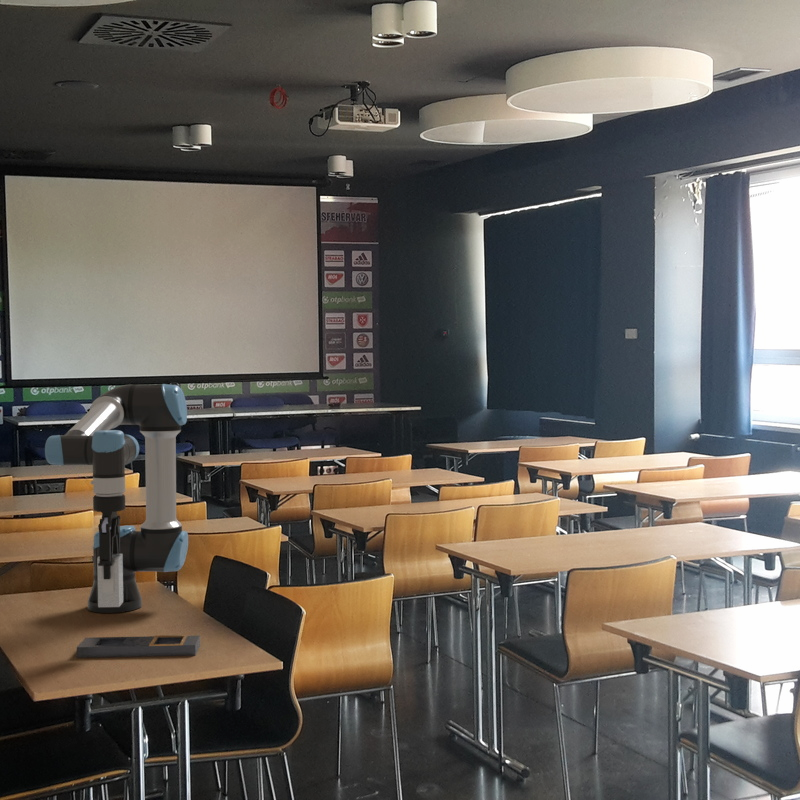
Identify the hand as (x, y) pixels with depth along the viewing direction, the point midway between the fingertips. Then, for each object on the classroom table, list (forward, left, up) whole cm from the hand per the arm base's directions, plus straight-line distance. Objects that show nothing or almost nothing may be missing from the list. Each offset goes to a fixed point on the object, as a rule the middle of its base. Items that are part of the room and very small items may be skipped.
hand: (110, 589), depth 251 cm
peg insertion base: (0, +7, -15) cm, 17 cm away
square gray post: (0, 0, -4) cm, 4 cm away
